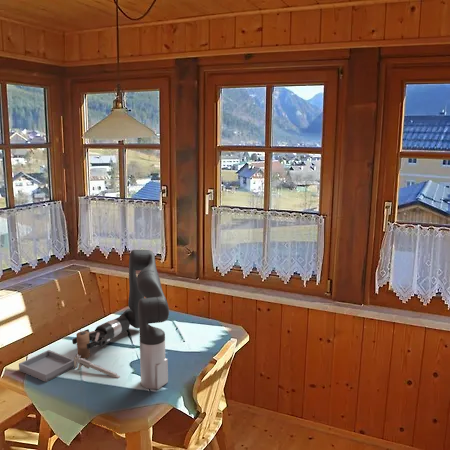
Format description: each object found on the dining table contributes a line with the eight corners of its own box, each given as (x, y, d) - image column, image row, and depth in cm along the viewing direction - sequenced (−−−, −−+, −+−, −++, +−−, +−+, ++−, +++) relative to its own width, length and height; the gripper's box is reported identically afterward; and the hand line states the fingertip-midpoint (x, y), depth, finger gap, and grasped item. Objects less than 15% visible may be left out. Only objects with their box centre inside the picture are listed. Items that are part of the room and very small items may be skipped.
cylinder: (92, 355, 199) (91, 332, 197) (83, 360, 195) (82, 336, 193) (84, 352, 202) (83, 330, 200) (75, 357, 198) (73, 334, 196)
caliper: (74, 369, 188) (73, 354, 187) (75, 368, 189) (75, 353, 188) (118, 378, 182) (117, 363, 180) (120, 377, 183) (119, 362, 181)
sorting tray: (75, 366, 190) (75, 359, 189) (46, 382, 178) (45, 374, 178) (49, 356, 198) (48, 349, 197) (19, 370, 186) (18, 363, 186)
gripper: (96, 319, 212) (67, 332, 199) (120, 326, 205) (92, 339, 192) (97, 334, 214) (68, 348, 200) (121, 342, 207) (92, 357, 193)
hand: (80, 344), depth 196 cm, fingers open, 8 cm apart
